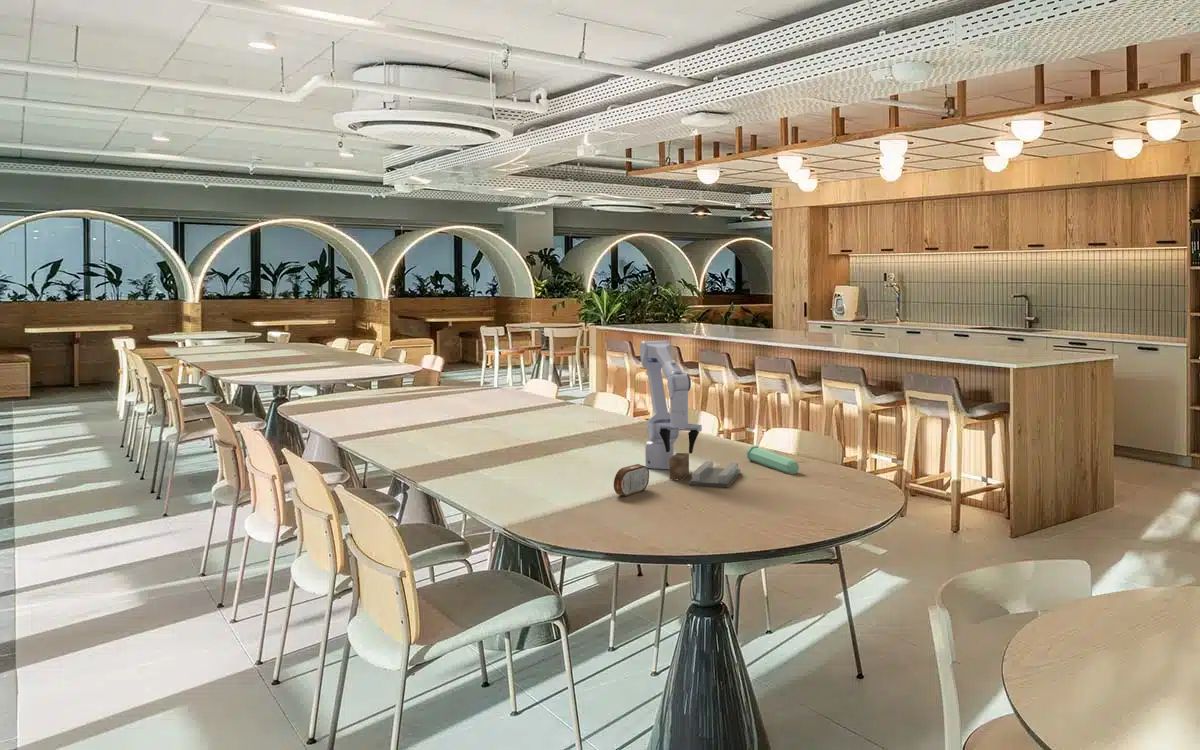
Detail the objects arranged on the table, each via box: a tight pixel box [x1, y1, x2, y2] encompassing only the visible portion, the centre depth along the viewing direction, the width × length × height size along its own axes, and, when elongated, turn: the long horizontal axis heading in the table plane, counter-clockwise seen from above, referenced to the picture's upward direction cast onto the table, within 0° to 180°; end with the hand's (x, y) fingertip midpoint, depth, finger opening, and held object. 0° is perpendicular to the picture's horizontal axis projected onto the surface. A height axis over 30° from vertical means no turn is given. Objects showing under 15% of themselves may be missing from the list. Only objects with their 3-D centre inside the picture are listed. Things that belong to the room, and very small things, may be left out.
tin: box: [613, 463, 650, 497], centre depth 270 cm, size 15×3×8 cm, turn 141°
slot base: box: [688, 460, 741, 488], centre depth 288 cm, size 12×22×4 cm, turn 161°
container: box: [746, 445, 800, 475], centre depth 305 cm, size 6×6×25 cm
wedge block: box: [668, 452, 690, 481], centre depth 292 cm, size 4×10×7 cm, turn 161°
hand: (679, 452), depth 291 cm, fingers open, 7 cm apart
